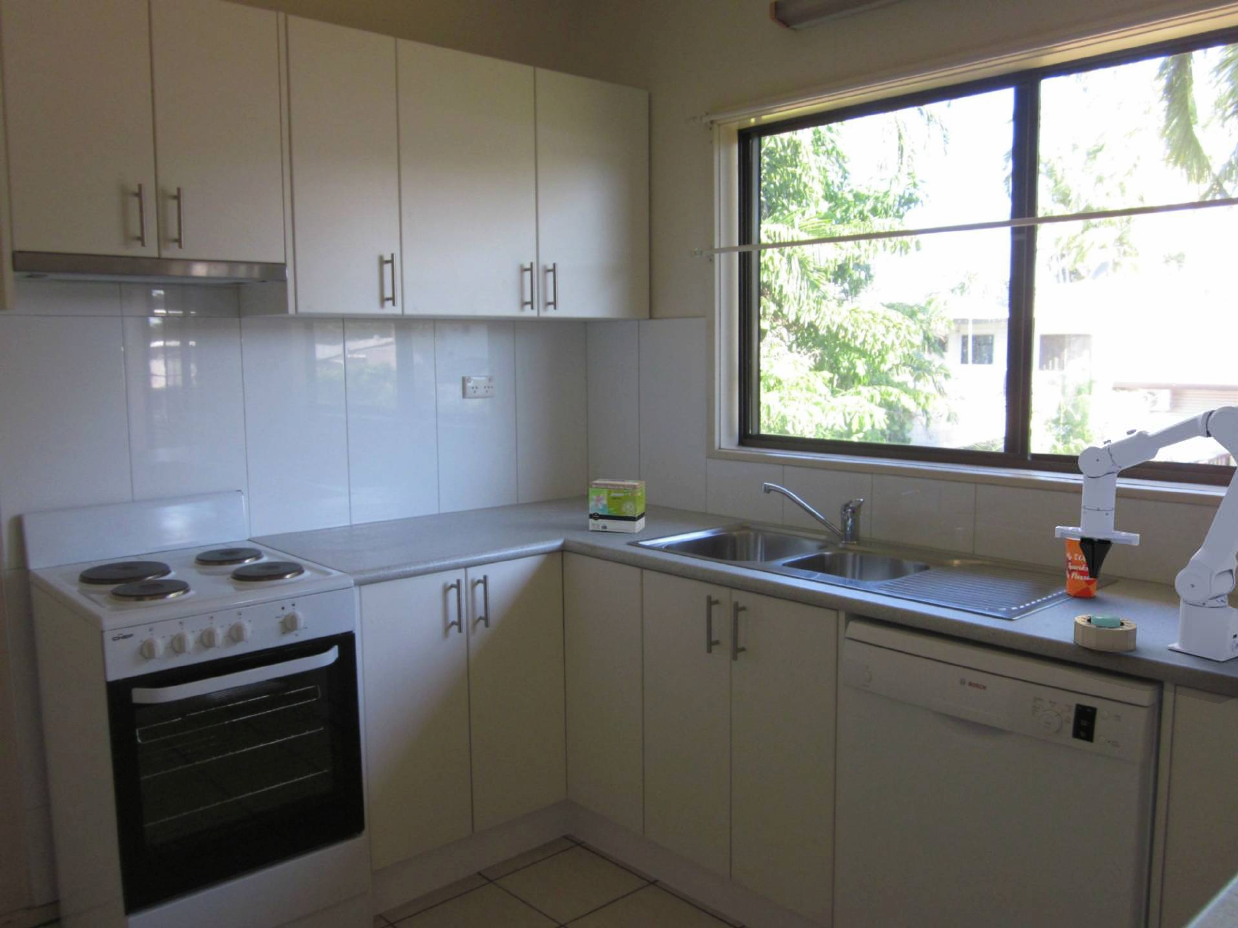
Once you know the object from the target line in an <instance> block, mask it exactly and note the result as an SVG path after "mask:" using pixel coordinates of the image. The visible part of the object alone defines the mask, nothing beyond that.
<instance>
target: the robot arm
mask: <svg viewBox="0 0 1238 928" xmlns="http://www.w3.org/2000/svg"><path fill="white" fill-rule="evenodd" d="M1125 433H1126V435H1123V436H1121V437H1118V438H1115V439H1113V440H1112V439H1110V438H1109V439H1105V440H1104V441H1103V444H1102V445H1100V446H1099V445H1098V446H1097V445H1091V446H1088V447H1086V448H1085V449H1083V450H1082V451H1081V453H1080V454H1079V456H1078V459H1077V464H1078V468H1079V470H1080V472H1082V473H1083V474H1082V475H1083V477H1082V478H1083V479H1082V493H1081V511H1080V513H1081V514H1080V526H1079V527H1078V526H1062V525H1061V526H1060V525H1058V526H1056V527H1055V529H1054V538H1059V539H1060V538H1065V539H1066V538H1075V539H1080V543H1079V546H1080V548H1081V550H1082V552H1083V555H1084V557H1085V560H1086V563H1087V567H1088V572H1089V578H1093V579H1097V580H1098V578H1100V573H1101V568H1102V566H1103V563H1104V561H1105V558H1106V556H1107V555H1108V553H1109V551H1110V550H1111V548H1112V546H1113V544H1115V543H1116V544H1125V545H1130V546H1135V547H1136V546H1139V544H1140V537H1141V536H1140V534H1139V533H1131V532H1124V531H1119V530H1114V525H1115V511H1116V510H1115V509H1116V491H1117V479H1118V478H1117V477H1118V474H1119V473H1120V472H1121V471H1122V470H1126V469H1127V468H1131V467H1133V466H1136V465H1140V464H1142V463H1145V462H1147V461H1150V460H1153V459H1155V458H1156V456H1157V455H1158V453H1159V450H1161V449H1163V448H1166V447H1168V446H1172V445H1175V444H1178V443H1182V442H1184V441H1187V440H1191V439H1194V438H1196V437H1202V438H1212V439H1214V441H1216V442H1217V443H1218V444H1219V445H1220V446H1222V447H1223V448H1224V449H1225V450H1227V452H1228V453H1230V455H1231V457H1232V458H1233V460H1234V462H1235V463H1236V465H1237V467H1236V469H1235V472H1234V473H1233V476H1232V478H1231V481H1230V483H1229V485H1228V487H1227V490H1226V492H1225V493H1224V494H1225V495H1224V496H1223V498H1222V500H1221V503H1220V505H1219V508H1218V509H1217V512H1216V514H1215V516H1214V518H1213V521H1212V524H1211V526H1210V528H1209V530H1208V533H1207V534H1206V535H1205V538H1204V541H1203V543H1202V545H1201V547H1200V549H1198V551H1196V553H1195V554H1194V555H1193V556H1192V557H1191V558H1190V560H1189V562H1188V564H1187V565H1186V566H1185V568H1183V569H1181V570H1180V571H1179V572H1178V573H1177V574H1176V577H1175V579H1174V587H1175V591H1176V593H1177V594H1178V595H1179V597H1180V603H1179V605H1180V606H1179V619H1178V620H1179V621H1178V636H1177V642H1175V643H1170V644H1168V645H1167V646H1166V648H1167V649H1168V650H1172V651H1178V652H1181V653H1186V654H1190V655H1193V656H1197V657H1201V658H1204V659H1205V658H1206V659H1210V660H1213V661H1218V662H1225V661H1227V660H1231V659H1234V658H1236V657H1238V608H1234V607H1232V606H1230V605H1229V599H1228V595H1229V594H1230V593H1231V592H1232V591H1233V589H1234V588H1235V586H1236V569H1237V568H1238V560H1237V557H1236V556H1237V553H1238V406H1232V405H1229V406H1228V405H1227V406H1226V405H1225V406H1221V407H1219V408H1217V409H1211V410H1208V411H1207V410H1206V411H1203V412H1200V413H1196V414H1193V415H1192V416H1189V417H1186V418H1184V419H1182V420H1180V421H1177V422H1175V423H1172V424H1170V425H1167V426H1165V427H1163V428H1160V429H1158V430H1156V431H1153V432H1150V431H1147V430H1145V429H1139V430H1137V428H1135V429H1134V428H1133V429H1129V430H1127V431H1126V432H1125ZM1085 536H1087V537H1085ZM1094 537H1095V538H1094Z"/></svg>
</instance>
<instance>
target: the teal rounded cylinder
mask: <svg viewBox="0 0 1238 928" xmlns="http://www.w3.org/2000/svg"><path fill="white" fill-rule="evenodd" d="M1090 615H1091V624H1094V625H1098V626H1105V627H1120V622H1121V618H1122V617H1120V616H1117V615H1114V614H1113V615H1112V614H1109V613H1093V614H1090Z"/></svg>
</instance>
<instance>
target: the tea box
mask: <svg viewBox="0 0 1238 928" xmlns="http://www.w3.org/2000/svg"><path fill="white" fill-rule="evenodd" d="M645 524H646V481H645V480H635V479H634V480H633V479H632V480H631V479H617V478H616V479H615V478H614V479H613V478H597V479H596V480H593V481H592V482H588V529H589V531H602V532H603V531H605V532H612V533H613V532H616V533H628V534H637V533H639V532H640V531H642V530H643V529H644V528H645V526H646V525H645Z"/></svg>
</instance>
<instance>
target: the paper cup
mask: <svg viewBox="0 0 1238 928" xmlns="http://www.w3.org/2000/svg"><path fill="white" fill-rule="evenodd" d="M1085 537H1087V536H1085ZM1094 538H1095V537H1094ZM1079 543H1080V539H1075V538H1065V560H1066V561H1065V562H1066V565H1065V566H1066V567H1065V568H1066V569H1065V570H1066V571H1065V572H1066V594H1067V593H1068V594H1070V595H1069V596H1072V597H1075V598H1076V597H1077V598H1084V599H1085V598H1090V599H1091V598H1095V596H1096V591H1097V585H1098V578H1097V579H1093V578H1089V572H1088V567H1087V563H1086V560H1085V557H1084V555H1083V552H1082V550H1081V548H1080V546H1079ZM1068 594H1067V595H1068Z"/></svg>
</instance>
